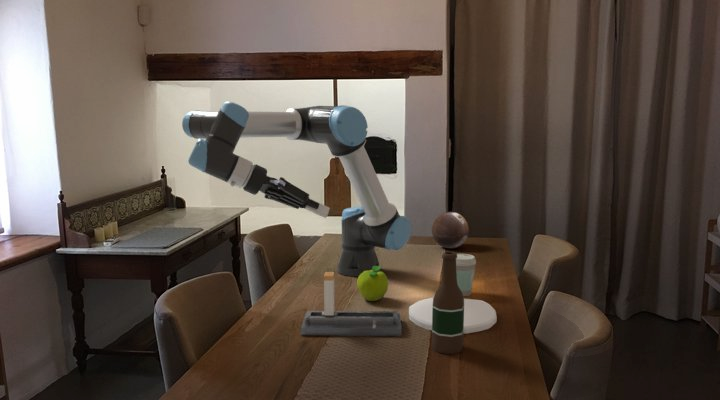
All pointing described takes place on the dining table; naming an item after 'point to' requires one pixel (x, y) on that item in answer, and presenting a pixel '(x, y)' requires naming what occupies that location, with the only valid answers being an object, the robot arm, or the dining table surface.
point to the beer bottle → (448, 310)
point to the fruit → (372, 284)
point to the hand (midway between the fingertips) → (327, 212)
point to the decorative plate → (475, 315)
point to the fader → (329, 295)
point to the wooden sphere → (450, 230)
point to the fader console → (352, 323)
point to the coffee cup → (465, 272)
